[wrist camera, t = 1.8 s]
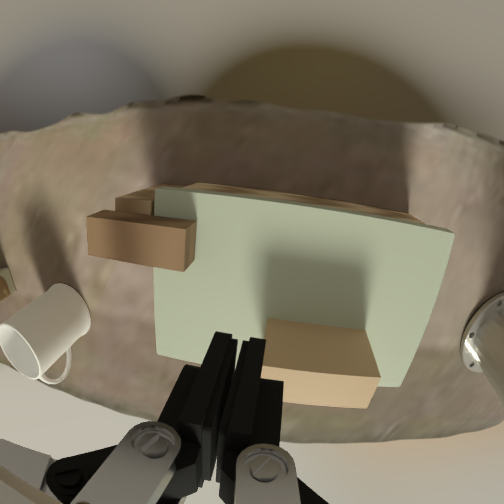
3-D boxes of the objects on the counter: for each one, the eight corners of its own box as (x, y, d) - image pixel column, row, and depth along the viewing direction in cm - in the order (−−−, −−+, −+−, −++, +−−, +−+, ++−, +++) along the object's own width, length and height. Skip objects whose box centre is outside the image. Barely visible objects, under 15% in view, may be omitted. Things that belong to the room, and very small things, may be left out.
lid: (447, 228, 22) (496, 259, 14) (396, 377, 26) (415, 432, 19) (162, 186, 24) (112, 202, 16) (162, 345, 28) (130, 395, 21)
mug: (104, 355, 41) (62, 407, 30) (64, 348, 42) (21, 391, 31) (82, 283, 37) (25, 326, 26) (42, 281, 38) (-13, 317, 27)
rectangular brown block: (196, 220, 22) (185, 229, 20) (194, 259, 23) (183, 272, 21) (104, 209, 23) (86, 216, 21) (105, 245, 24) (88, 254, 22)
